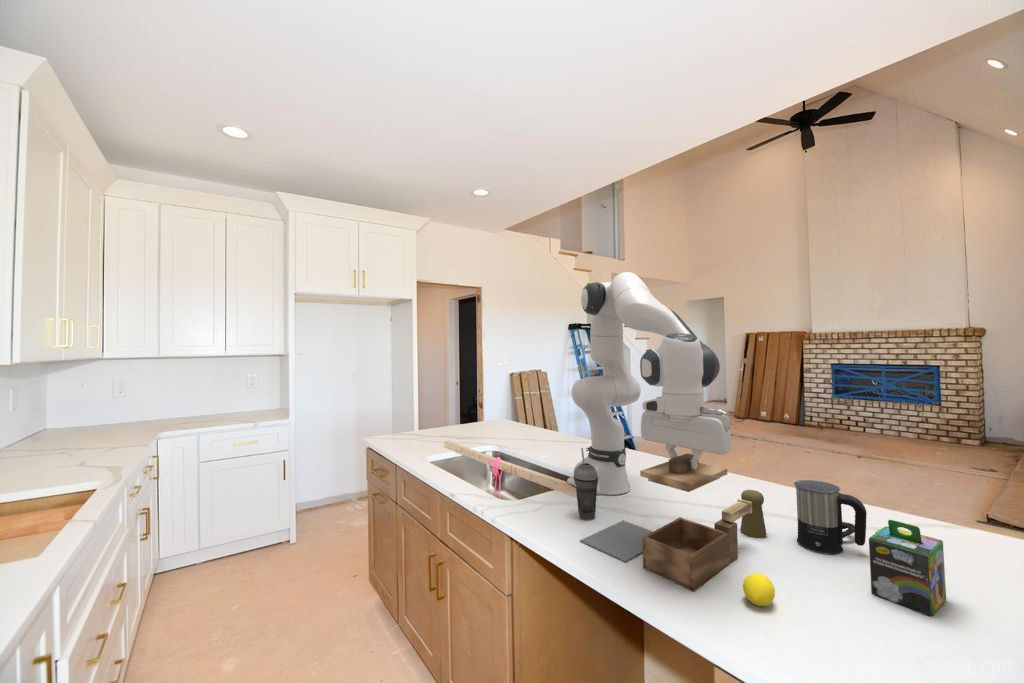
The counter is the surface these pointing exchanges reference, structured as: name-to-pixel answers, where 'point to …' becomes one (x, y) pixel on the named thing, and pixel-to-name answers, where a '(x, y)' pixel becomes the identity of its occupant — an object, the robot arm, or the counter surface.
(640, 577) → the counter surface
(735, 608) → the counter surface
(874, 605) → the counter surface
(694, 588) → the brown wooden box
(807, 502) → the milk frother
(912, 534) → the chalk box
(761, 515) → the olive chess pawn
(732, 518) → the light wooden bar
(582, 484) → the beverage cup
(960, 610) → the counter surface
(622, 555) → the mat
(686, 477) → the lid
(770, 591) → the lemon
